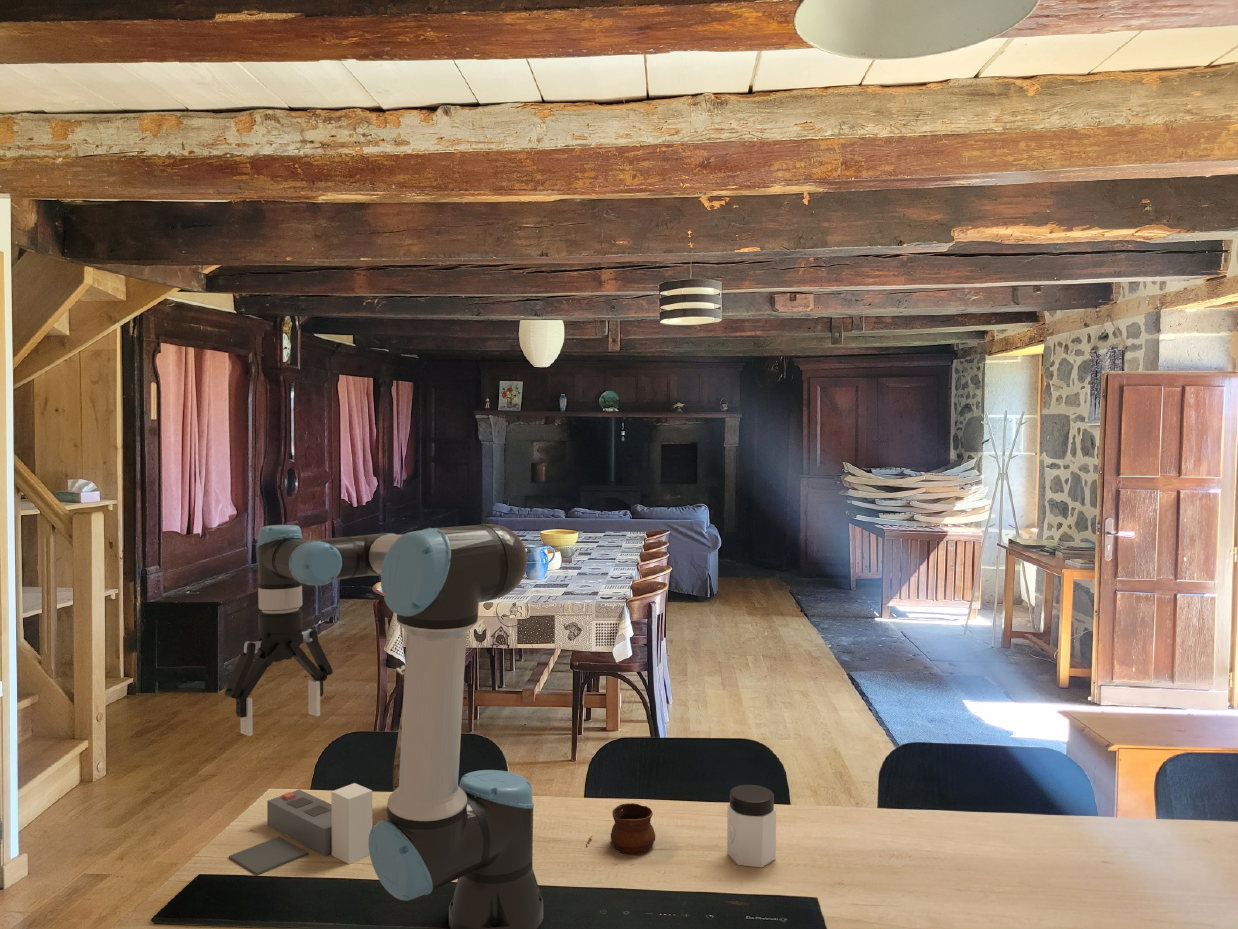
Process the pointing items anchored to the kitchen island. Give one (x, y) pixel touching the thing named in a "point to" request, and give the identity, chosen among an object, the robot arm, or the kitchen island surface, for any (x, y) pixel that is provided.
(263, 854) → the mat
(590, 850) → the kitchen island surface
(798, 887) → the kitchen island surface
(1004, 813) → the kitchen island surface
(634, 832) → the ceramic pot
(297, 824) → the power strip
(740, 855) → the jar
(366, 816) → the charger
